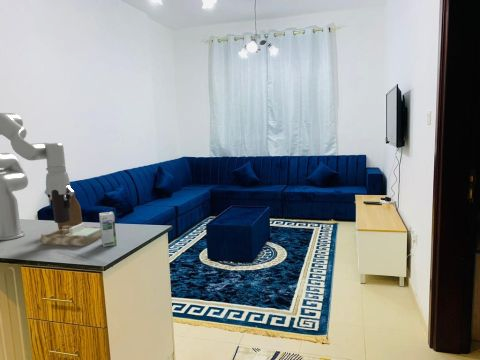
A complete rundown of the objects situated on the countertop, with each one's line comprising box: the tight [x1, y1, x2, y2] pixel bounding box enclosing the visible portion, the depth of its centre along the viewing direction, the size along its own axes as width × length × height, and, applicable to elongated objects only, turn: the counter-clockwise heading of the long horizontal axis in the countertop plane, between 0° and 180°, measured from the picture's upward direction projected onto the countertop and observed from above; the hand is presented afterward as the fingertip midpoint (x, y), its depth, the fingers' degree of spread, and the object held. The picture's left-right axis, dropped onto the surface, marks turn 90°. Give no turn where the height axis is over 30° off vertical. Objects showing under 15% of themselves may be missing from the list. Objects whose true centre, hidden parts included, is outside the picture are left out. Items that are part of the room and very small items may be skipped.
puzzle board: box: [40, 226, 101, 247], centre depth 175 cm, size 22×15×5 cm
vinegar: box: [51, 190, 70, 224], centre depth 173 cm, size 7×7×20 cm
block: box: [57, 192, 83, 230], centre depth 191 cm, size 11×8×20 cm
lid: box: [66, 222, 101, 237], centre depth 173 cm, size 11×12×3 cm
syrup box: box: [98, 211, 118, 248], centre depth 166 cm, size 6×6×14 cm
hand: (61, 207), depth 174 cm, fingers closed on vinegar, 5 cm apart
